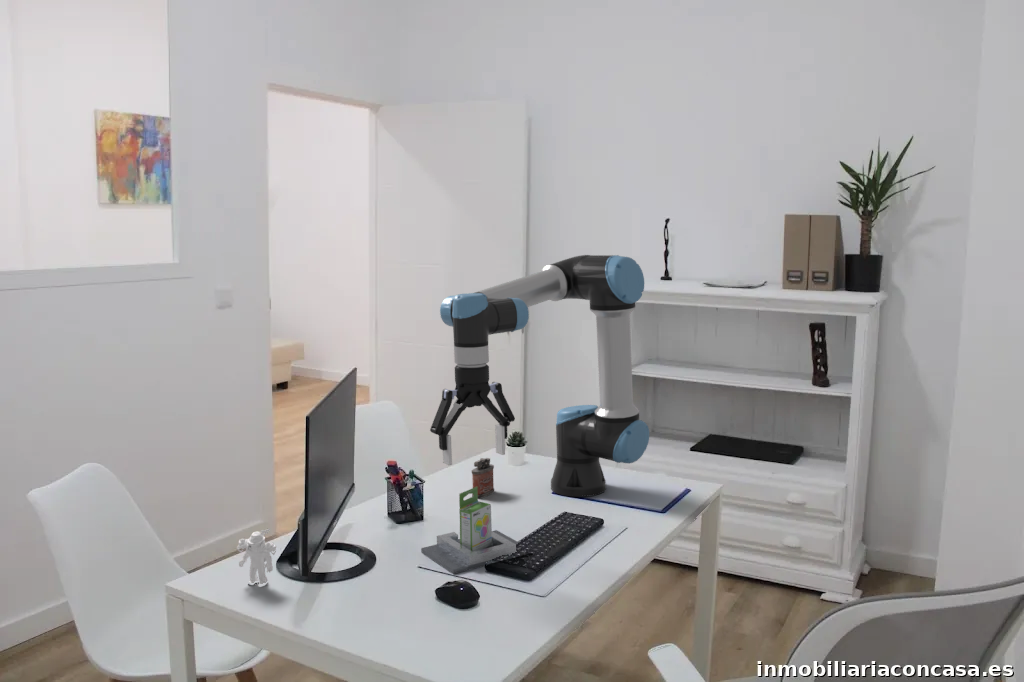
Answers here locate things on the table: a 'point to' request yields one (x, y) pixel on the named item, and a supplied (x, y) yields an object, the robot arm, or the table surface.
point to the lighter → (483, 477)
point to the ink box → (474, 522)
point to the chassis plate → (452, 559)
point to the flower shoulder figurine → (257, 555)
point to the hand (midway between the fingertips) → (474, 458)
